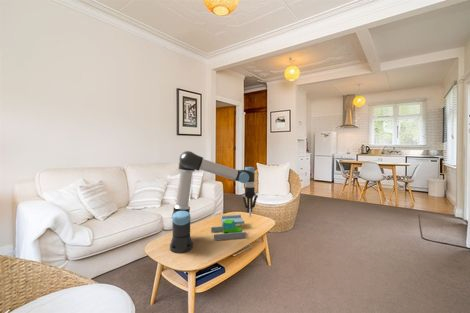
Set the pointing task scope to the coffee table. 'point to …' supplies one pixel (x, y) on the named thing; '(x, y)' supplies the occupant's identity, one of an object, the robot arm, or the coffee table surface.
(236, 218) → the cover
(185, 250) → the robot arm
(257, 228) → the coffee table surface
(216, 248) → the coffee table surface
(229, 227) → the toy car
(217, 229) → the grey long bars
